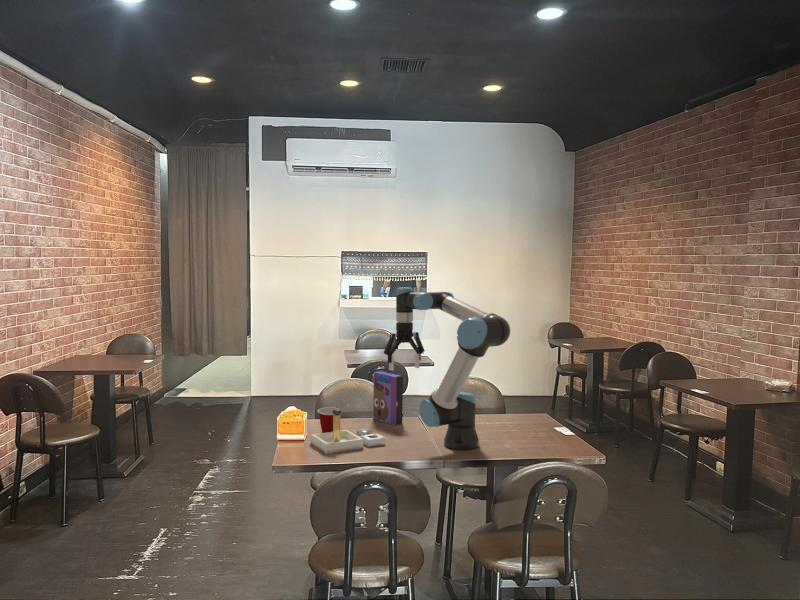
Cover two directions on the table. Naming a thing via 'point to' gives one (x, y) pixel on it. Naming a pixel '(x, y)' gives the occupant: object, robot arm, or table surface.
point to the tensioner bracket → (370, 437)
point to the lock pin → (336, 425)
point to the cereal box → (388, 397)
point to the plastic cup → (326, 418)
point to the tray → (346, 442)
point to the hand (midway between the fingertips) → (404, 369)
